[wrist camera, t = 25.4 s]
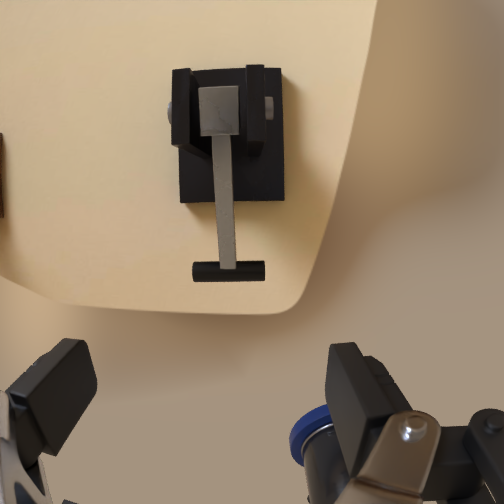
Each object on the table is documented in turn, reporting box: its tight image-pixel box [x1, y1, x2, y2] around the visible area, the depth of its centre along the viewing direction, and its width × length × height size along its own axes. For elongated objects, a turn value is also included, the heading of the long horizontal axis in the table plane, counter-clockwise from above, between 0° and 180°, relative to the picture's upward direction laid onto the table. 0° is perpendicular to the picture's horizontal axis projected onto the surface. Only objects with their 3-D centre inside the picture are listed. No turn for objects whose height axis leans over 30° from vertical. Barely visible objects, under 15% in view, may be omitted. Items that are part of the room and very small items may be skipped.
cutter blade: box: [192, 86, 265, 282], centre depth 20 cm, size 13×5×2 cm, turn 1°
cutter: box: [168, 65, 285, 203], centre depth 21 cm, size 12×9×12 cm
